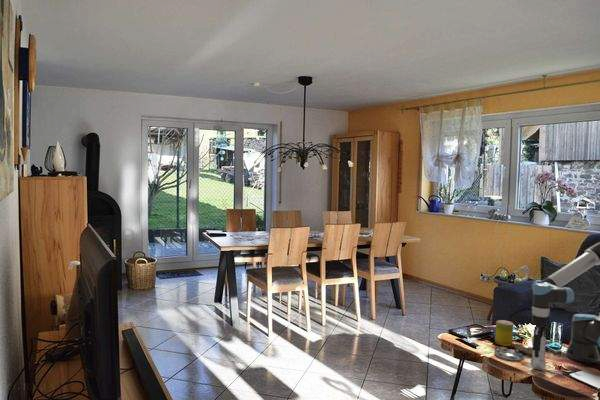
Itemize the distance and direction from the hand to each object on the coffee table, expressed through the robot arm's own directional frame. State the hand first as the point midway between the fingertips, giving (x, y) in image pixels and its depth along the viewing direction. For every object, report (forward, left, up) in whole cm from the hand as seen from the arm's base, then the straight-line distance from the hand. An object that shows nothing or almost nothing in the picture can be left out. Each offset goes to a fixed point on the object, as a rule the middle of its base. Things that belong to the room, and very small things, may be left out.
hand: (538, 361), depth 232 cm
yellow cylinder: (+24, -27, -5) cm, 36 cm away
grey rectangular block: (+10, -18, -4) cm, 21 cm away
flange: (+16, -9, -4) cm, 19 cm away
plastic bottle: (0, 0, -4) cm, 4 cm away
